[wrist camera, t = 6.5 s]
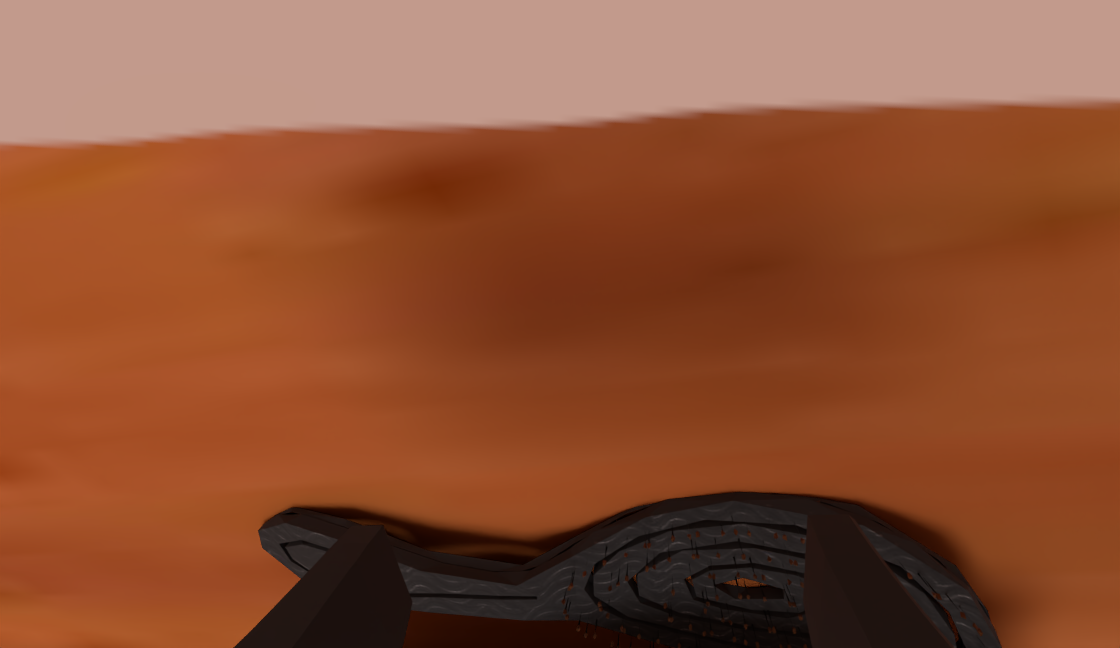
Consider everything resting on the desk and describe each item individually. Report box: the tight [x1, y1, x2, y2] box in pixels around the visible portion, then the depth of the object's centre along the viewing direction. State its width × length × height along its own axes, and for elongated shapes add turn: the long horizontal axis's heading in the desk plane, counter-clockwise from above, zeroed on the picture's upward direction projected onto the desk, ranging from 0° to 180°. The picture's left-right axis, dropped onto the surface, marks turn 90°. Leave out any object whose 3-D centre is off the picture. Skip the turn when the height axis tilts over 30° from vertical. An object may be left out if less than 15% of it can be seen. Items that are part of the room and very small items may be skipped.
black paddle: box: [258, 492, 1002, 648], centre depth 22 cm, size 8×4×25 cm
